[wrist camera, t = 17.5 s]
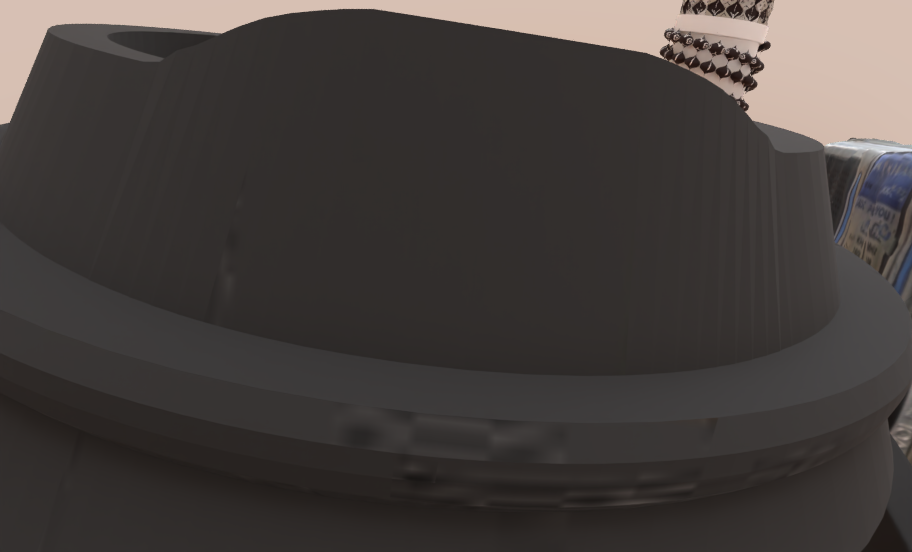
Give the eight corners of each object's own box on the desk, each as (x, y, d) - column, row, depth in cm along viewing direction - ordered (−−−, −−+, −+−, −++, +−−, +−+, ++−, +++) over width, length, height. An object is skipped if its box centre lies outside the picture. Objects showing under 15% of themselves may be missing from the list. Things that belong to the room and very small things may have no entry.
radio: (758, 303, 45) (833, 108, 39) (887, 341, 41) (989, 134, 36) (737, 465, 25) (879, 125, 20) (976, 563, 22) (1230, 185, 16)
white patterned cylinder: (625, 215, 65) (691, -31, 56) (709, 237, 61) (796, -22, 52) (603, 231, 57) (675, -50, 48) (698, 258, 54) (796, -42, 44)
